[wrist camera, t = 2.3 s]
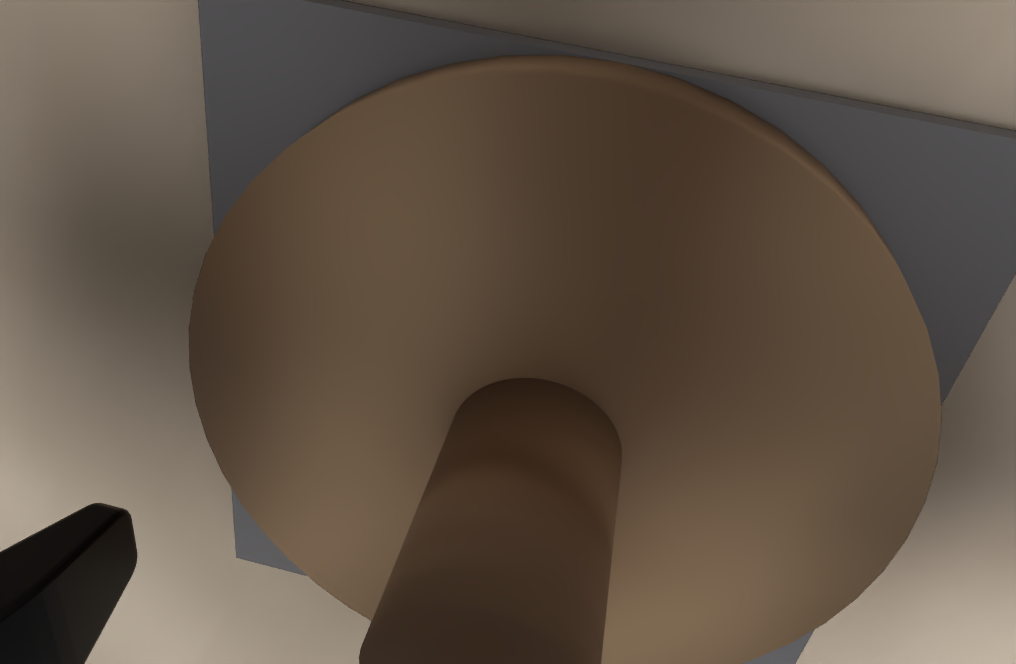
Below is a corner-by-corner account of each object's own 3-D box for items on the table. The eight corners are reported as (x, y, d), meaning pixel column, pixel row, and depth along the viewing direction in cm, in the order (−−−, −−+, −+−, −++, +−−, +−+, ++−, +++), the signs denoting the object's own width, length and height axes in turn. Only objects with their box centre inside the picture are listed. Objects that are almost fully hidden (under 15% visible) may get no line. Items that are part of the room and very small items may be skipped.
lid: (236, 557, 16) (77, 806, 12) (197, -22, 10) (-147, 72, 6) (775, 696, 15) (809, 1020, 11) (1082, 152, 9) (1416, 407, 5)
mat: (245, 543, 16) (236, 557, 16) (211, -25, 10) (196, -20, 10) (774, 678, 15) (776, 697, 15) (1070, 142, 10) (1084, 152, 9)
